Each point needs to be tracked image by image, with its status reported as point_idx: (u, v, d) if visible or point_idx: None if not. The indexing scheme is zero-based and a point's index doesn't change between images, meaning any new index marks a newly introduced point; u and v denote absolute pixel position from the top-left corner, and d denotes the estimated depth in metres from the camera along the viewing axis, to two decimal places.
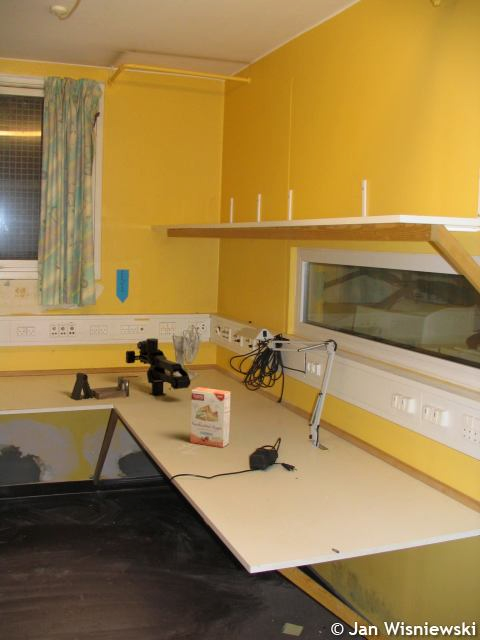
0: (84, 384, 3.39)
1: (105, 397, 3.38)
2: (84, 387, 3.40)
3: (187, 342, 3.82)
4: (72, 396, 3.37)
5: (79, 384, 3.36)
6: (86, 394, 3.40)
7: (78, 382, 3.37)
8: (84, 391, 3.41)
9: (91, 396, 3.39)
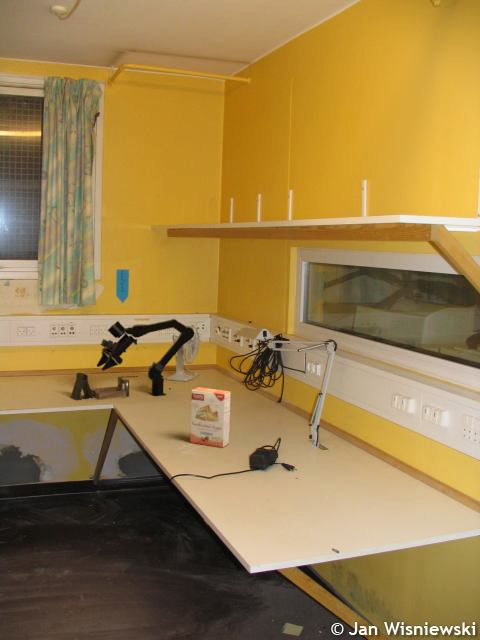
0: (84, 384, 3.39)
1: (105, 397, 3.38)
2: (84, 387, 3.40)
3: (187, 342, 3.82)
4: (72, 396, 3.37)
5: (79, 384, 3.36)
6: (86, 394, 3.40)
7: (78, 382, 3.37)
8: (84, 391, 3.41)
9: (91, 396, 3.39)
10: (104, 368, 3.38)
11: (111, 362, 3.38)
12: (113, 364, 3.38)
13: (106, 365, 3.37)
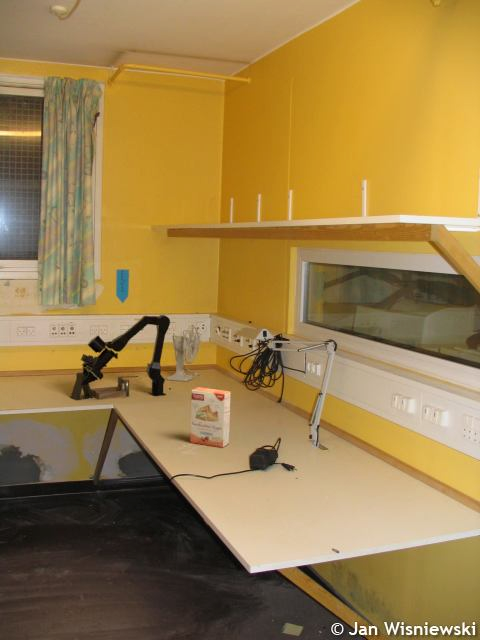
0: None
1: (105, 397, 3.38)
2: (84, 387, 3.40)
3: (187, 342, 3.82)
4: (72, 396, 3.37)
5: (79, 384, 3.36)
6: (86, 394, 3.40)
7: (78, 382, 3.37)
8: (84, 391, 3.41)
9: (91, 396, 3.39)
10: (84, 383, 3.35)
11: (91, 377, 3.35)
12: (93, 379, 3.35)
13: (86, 380, 3.34)
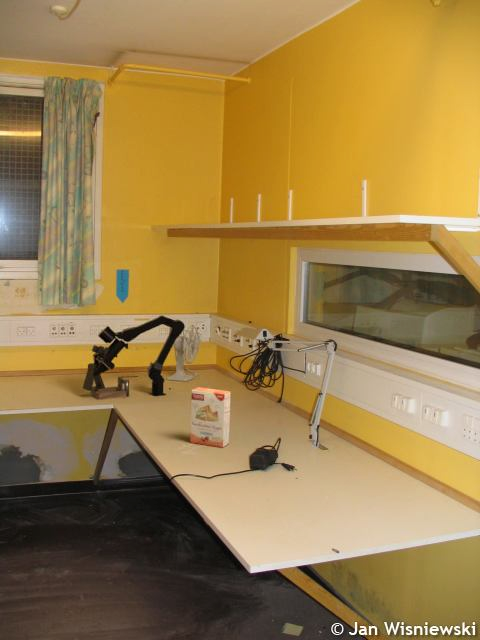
0: (96, 375, 3.41)
1: (105, 397, 3.38)
2: (95, 378, 3.42)
3: (187, 342, 3.82)
4: (84, 387, 3.39)
5: (91, 375, 3.38)
6: (98, 384, 3.42)
7: (90, 373, 3.39)
8: (96, 382, 3.43)
9: (103, 386, 3.41)
10: (95, 374, 3.37)
11: (102, 367, 3.37)
12: (104, 369, 3.37)
13: (97, 370, 3.36)
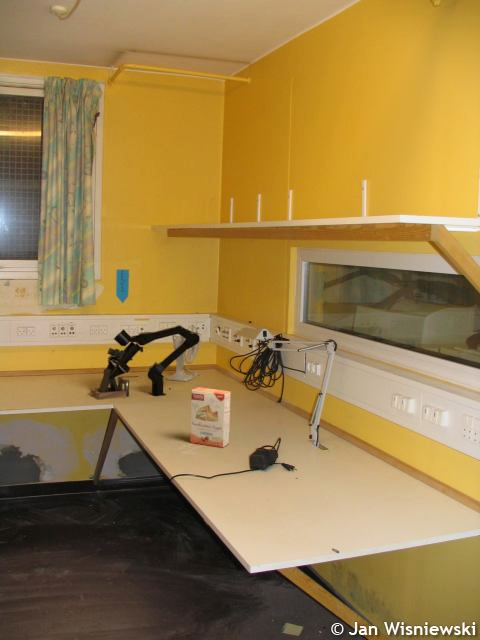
0: (111, 380, 3.44)
1: (105, 397, 3.38)
2: (111, 383, 3.46)
3: None
4: None
5: (106, 380, 3.42)
6: (113, 390, 3.46)
7: (105, 378, 3.43)
8: (111, 387, 3.47)
9: None
10: (111, 377, 3.39)
11: (118, 370, 3.40)
12: (120, 372, 3.40)
13: (113, 373, 3.39)
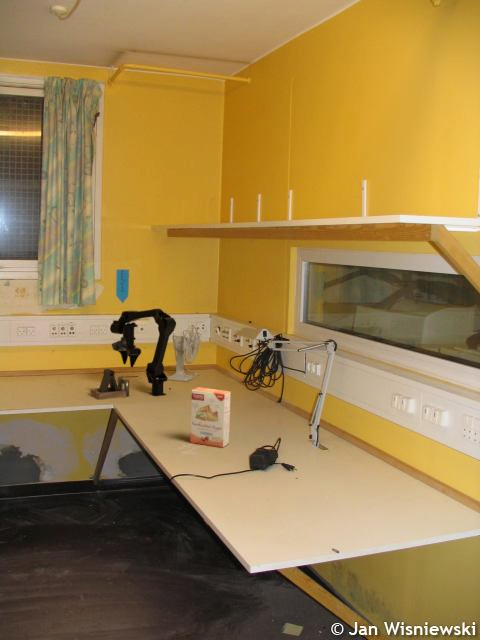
0: (111, 380, 3.45)
1: (105, 397, 3.38)
2: (111, 383, 3.46)
3: (187, 342, 3.82)
4: None
5: (106, 380, 3.42)
6: (113, 390, 3.46)
7: (105, 378, 3.43)
8: (111, 387, 3.47)
9: None
10: (132, 365, 3.56)
11: (133, 356, 3.56)
12: (136, 356, 3.56)
13: (132, 362, 3.56)
